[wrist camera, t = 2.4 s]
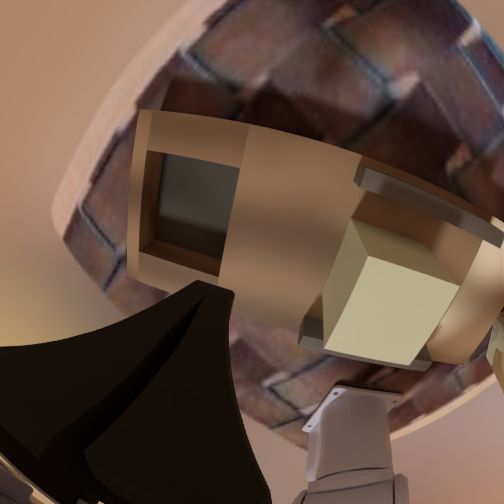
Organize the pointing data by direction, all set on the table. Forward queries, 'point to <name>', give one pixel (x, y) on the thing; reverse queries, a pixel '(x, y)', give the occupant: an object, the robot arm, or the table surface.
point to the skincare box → (497, 349)
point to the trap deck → (295, 226)
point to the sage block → (383, 295)
